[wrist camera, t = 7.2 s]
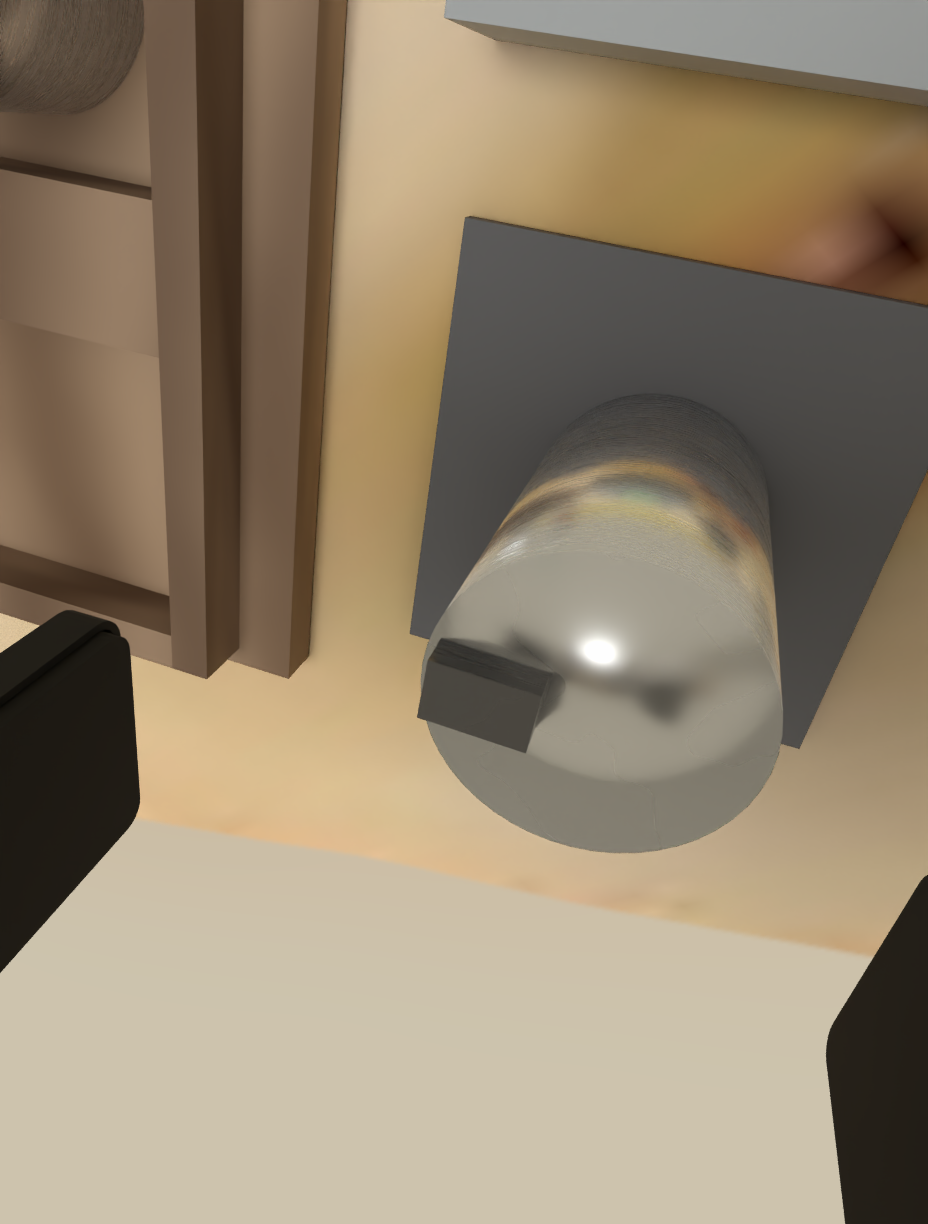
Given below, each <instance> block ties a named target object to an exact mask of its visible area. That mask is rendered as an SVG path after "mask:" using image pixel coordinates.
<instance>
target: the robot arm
mask: <svg viewBox="0 0 928 1224" xmlns="http://www.w3.org/2000/svg"><path fill="white" fill-rule="evenodd" d="M139 804H140V789H139V774H138V760H137V745H136V730H135V715H134V700H133V686H132V671H131V656H130V646H129V643H128V641H127V639H125V638H124V637H121V634H120V630H119V628H118V626H117V625H116V624H115V623H113V622H111V621H109V620H105V619H102V618H98V617H95V616H92V615H88V614H85V613H81V612H78V611H74V610H65V611H63V612H60V613H58V614H57V615H55V616H54V617H52V618H51V619H49V620H48V621H47V622H45V623H44V624H42V625H41V626H39V627H38V628H36V629H35V630H33V631H32V632H30V633H29V634H28V635H26V636H25V637H23V638H22V639H20V640H19V641H17V642H16V643H14V644H13V645H11V646H10V647H9V648H7V649H6V650H4V651H3V652H1V653H0V973H1V971H2V970H3V969H4V968H5V967H6V966H7V965H8V964H9V962H10V961H11V960H12V959H13V958H14V957H15V956H16V955H17V953H18V952H19V951H20V950H21V949H22V948H23V947H24V945H25V944H26V943H27V942H28V941H29V940H30V939H31V938H32V937H33V935H34V934H35V933H36V932H37V931H38V930H39V928H41V926H42V925H43V924H44V923H45V922H46V921H47V920H48V918H49V917H50V916H51V915H52V914H53V913H54V912H55V911H56V909H57V908H58V907H59V906H60V905H61V904H62V903H63V902H64V900H65V899H66V898H67V897H68V896H69V895H70V894H71V893H72V891H73V890H74V889H75V888H76V887H77V886H78V884H80V882H81V881H82V880H83V879H84V878H85V877H86V876H87V874H88V873H89V872H90V871H91V870H92V869H93V868H94V867H95V865H96V864H97V863H98V862H99V861H100V860H101V859H102V857H103V856H104V855H105V854H106V853H107V852H108V851H109V850H110V849H111V847H112V846H113V845H114V844H115V843H116V842H117V841H118V840H119V838H120V837H121V836H122V835H123V834H124V833H125V832H126V830H127V829H128V828H129V827H130V825H131V824H132V822H133V821H134V819H135V817H136V814H137V812H138V809H139ZM826 1063H827V1071H828V1079H829V1087H830V1097H831V1105H832V1114H833V1123H834V1131H835V1140H836V1148H837V1156H838V1165H839V1174H840V1183H841V1191H842V1199H843V1208H844V1217H845V1224H928V875H927V876H925V877H924V878H923V879H922V880H921V882H920V883H919V885H918V886H917V888H916V890H915V891H914V893H913V894H912V896H911V898H910V899H909V901H908V903H907V904H906V906H905V907H904V909H903V911H902V912H901V914H900V916H899V917H898V919H897V920H896V922H895V924H894V925H893V927H892V928H891V930H890V932H889V933H888V935H887V937H886V938H885V940H884V941H883V943H882V945H881V946H880V948H879V950H878V951H877V953H876V954H875V956H874V958H873V959H872V961H871V963H870V964H869V966H868V967H867V969H866V971H865V972H864V974H863V976H862V977H861V979H860V981H859V982H858V984H857V985H856V987H855V989H854V990H853V992H852V993H851V995H850V997H849V998H848V1000H847V1002H846V1003H845V1005H844V1006H843V1008H842V1010H841V1011H840V1013H839V1014H838V1016H837V1018H836V1020H835V1021H834V1023H833V1025H832V1027H831V1029H830V1032H829V1035H828V1040H827V1048H826Z"/></svg>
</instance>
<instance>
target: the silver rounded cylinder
mask: <svg viewBox="0 0 928 1224" xmlns="http://www.w3.org/2000/svg"><path fill="white" fill-rule="evenodd" d="M417 718H420V719H423V720H426V721H427V724H428V727H429V730H430V733H431V736H432V738H433V740H434V742H435V744H436V746H437V748H438V750H439V752H440V754H441V755H442V757H443V758H444V760H445V761H446V763H447V765H448V766H449V768H450V769H451V770H452V772H453V773H454V774H455V775H456V776H457V778H458V779H459V780H460V781H461V782H462V784H463V785H464V786H465V787H466V788H467V789H468V790H469V791H470V792H471V793H472V794H473V795H474V796H475V797H477V798H478V799H479V800H480V801H481V802H483V803H484V804H485V805H486V806H488V807H489V808H490V809H491V810H493V811H494V812H495V813H497V814H498V815H500V816H502V817H503V818H505V819H506V820H508V821H509V822H511V823H513V824H515V825H517V826H519V827H520V828H522V829H524V830H526V831H528V832H530V833H533V834H535V835H538V836H540V837H543V838H545V839H548V840H550V841H553V842H557V843H560V844H563V845H567V846H570V847H575V848H580V849H585V850H590V851H598V852H609V853H640V852H649V851H658V850H662V849H667V848H672V847H676V846H680V845H683V844H685V843H688V842H691V841H694V840H697V839H699V838H701V837H703V836H706V835H708V834H710V833H712V832H714V831H716V830H717V829H719V828H720V827H722V826H724V825H725V824H727V823H728V822H730V821H731V820H733V819H734V818H735V817H736V816H737V815H738V814H740V813H741V812H742V811H743V810H744V809H745V808H746V807H748V805H749V804H750V803H751V802H752V801H753V799H754V798H755V797H756V796H757V795H758V794H759V792H760V791H761V790H762V788H763V786H764V785H765V783H766V781H767V780H768V778H769V776H770V775H771V772H772V770H773V767H774V765H775V762H776V760H777V757H778V754H779V749H780V744H781V740H782V731H783V707H782V692H781V677H780V663H779V648H778V633H777V618H776V604H775V589H774V574H773V560H772V545H771V530H770V516H769V501H768V491H767V483H766V479H765V475H764V472H763V468H762V466H761V463H760V461H759V459H758V457H757V455H756V453H755V451H754V450H753V448H752V446H751V445H750V443H749V442H748V440H747V439H746V438H745V437H744V436H743V434H742V433H741V432H740V431H739V430H738V429H737V428H736V427H735V426H734V425H733V424H732V423H731V422H729V421H728V420H727V419H726V418H725V417H723V416H722V415H720V414H718V413H717V412H715V411H714V410H712V409H710V408H708V407H706V406H704V405H702V404H700V403H698V402H695V401H692V400H689V399H686V398H683V397H678V396H672V395H667V394H651V393H650V394H636V395H630V396H625V397H620V398H616V399H613V400H611V401H608V402H605V403H602V404H600V405H598V406H596V407H594V408H592V409H590V410H588V411H587V412H585V413H584V414H583V415H581V416H580V417H578V418H577V419H575V420H574V421H573V422H572V423H571V424H570V425H569V426H568V427H566V428H565V429H564V431H563V432H562V433H561V434H560V435H559V436H558V438H557V439H556V440H555V442H554V443H553V445H552V446H551V448H550V449H549V451H548V452H547V454H546V456H545V457H544V459H543V460H542V462H541V463H540V465H539V466H538V468H537V470H536V471H535V473H534V474H533V476H532V477H531V479H530V480H529V482H528V484H527V485H526V487H525V488H524V490H523V491H522V493H521V494H520V496H519V497H518V499H517V501H516V502H515V504H514V505H513V507H512V508H511V510H510V511H509V513H508V515H507V516H506V518H505V519H504V521H503V522H502V524H501V525H500V527H499V529H498V530H497V532H496V533H495V535H494V536H493V538H492V539H491V541H490V543H489V544H488V546H487V547H486V549H485V550H484V552H483V553H482V555H481V557H480V558H479V560H478V561H477V563H476V564H475V566H474V567H473V569H472V571H471V572H470V574H469V575H468V577H467V578H466V580H465V581H464V583H463V584H462V586H461V588H460V589H459V591H458V592H457V594H456V595H455V597H454V598H453V600H452V602H451V603H450V605H449V606H448V608H447V609H446V611H445V612H444V614H443V616H442V617H441V619H440V620H439V622H438V623H437V625H436V626H435V628H434V631H433V633H432V635H431V637H430V640H429V642H428V644H427V648H426V652H425V655H424V659H423V664H422V674H421V699H420V704H419V709H418V715H417Z"/></svg>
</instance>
